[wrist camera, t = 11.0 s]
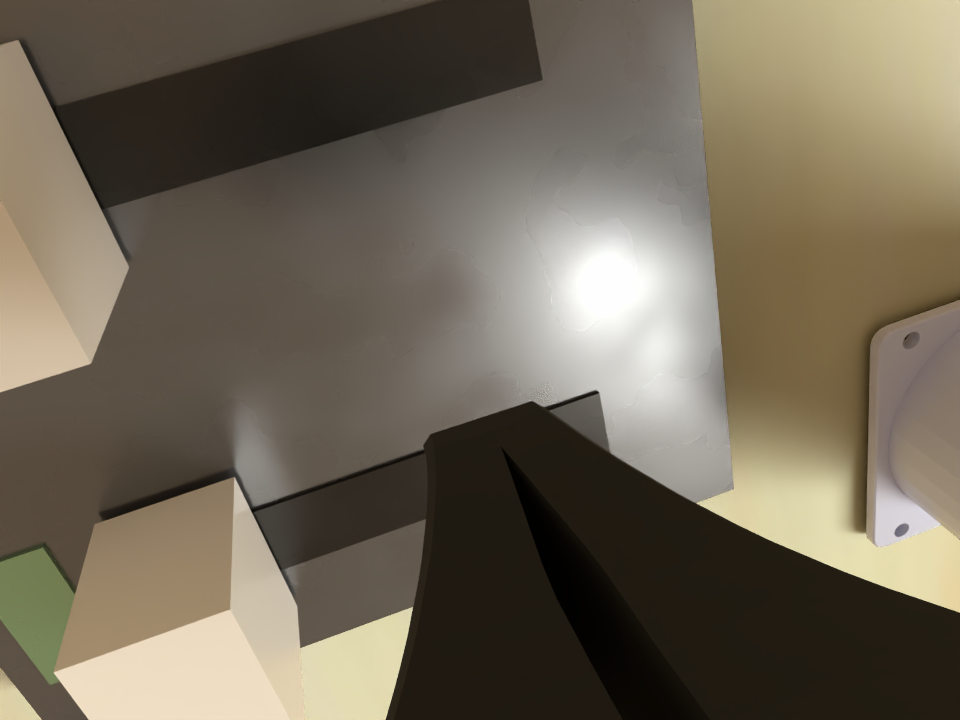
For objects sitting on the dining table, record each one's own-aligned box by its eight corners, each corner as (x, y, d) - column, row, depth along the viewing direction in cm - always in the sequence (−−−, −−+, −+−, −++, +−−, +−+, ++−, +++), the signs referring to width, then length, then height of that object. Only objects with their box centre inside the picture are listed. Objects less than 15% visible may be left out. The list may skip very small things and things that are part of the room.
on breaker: (234, 476, 17) (230, 609, 14) (297, 605, 19) (307, 750, 15) (95, 524, 17) (53, 672, 13) (173, 651, 19) (155, 808, 15)
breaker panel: (611, -441, 13) (653, -488, 12) (706, 458, 22) (736, 491, 21) (-580, -183, 11) (-698, -203, 10) (68, 688, 20) (55, 741, 19)
